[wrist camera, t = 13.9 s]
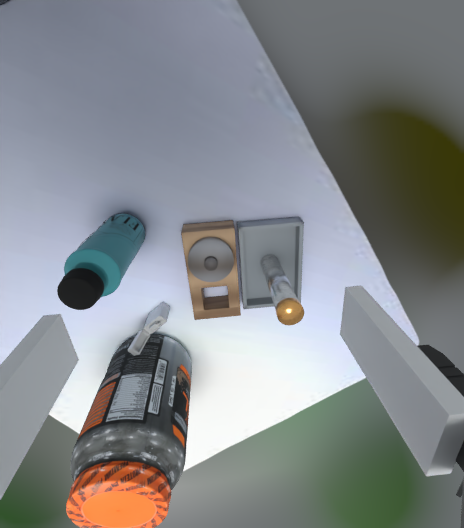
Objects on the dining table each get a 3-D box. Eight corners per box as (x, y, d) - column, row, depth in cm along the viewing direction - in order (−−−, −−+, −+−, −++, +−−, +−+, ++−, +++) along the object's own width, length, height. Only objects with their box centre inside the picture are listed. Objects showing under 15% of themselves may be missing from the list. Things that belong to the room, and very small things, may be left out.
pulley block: (183, 224, 48) (179, 239, 42) (232, 220, 48) (235, 234, 42) (195, 306, 55) (193, 329, 49) (238, 302, 55) (241, 324, 49)
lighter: (163, 301, 54) (156, 329, 46) (170, 307, 54) (164, 335, 47) (137, 323, 55) (126, 353, 48) (144, 328, 56) (134, 358, 49)
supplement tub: (176, 396, 64) (156, 550, 41) (104, 376, 61) (38, 534, 37) (205, 343, 59) (200, 490, 35) (127, 318, 55) (65, 463, 32)
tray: (237, 222, 48) (238, 227, 45) (298, 216, 48) (303, 221, 46) (242, 300, 55) (243, 309, 52) (296, 295, 55) (300, 303, 52)
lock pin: (259, 254, 50) (277, 304, 36) (279, 252, 50) (304, 301, 36) (260, 272, 52) (277, 326, 38) (279, 270, 52) (303, 323, 38)
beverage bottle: (151, 215, 47) (114, 274, 29) (144, 252, 49) (105, 327, 31) (109, 204, 45) (42, 257, 27) (104, 242, 48) (40, 314, 30)
